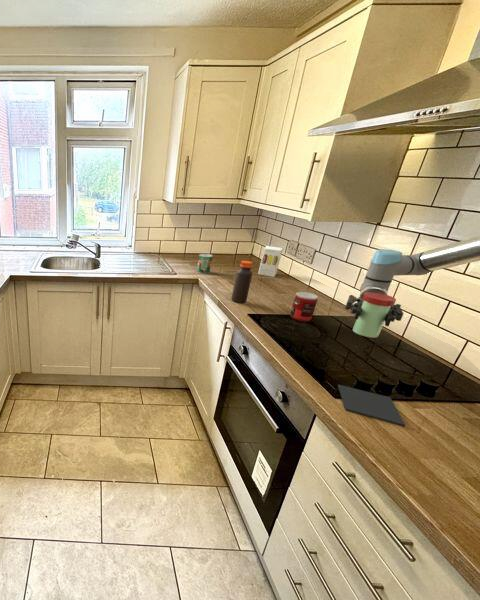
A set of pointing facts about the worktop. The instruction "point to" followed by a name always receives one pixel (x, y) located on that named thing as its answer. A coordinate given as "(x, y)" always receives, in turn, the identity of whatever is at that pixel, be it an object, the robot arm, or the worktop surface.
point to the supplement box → (270, 261)
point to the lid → (379, 299)
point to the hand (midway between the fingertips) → (372, 318)
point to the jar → (370, 319)
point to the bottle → (242, 282)
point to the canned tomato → (204, 263)
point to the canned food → (303, 306)
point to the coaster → (370, 405)
